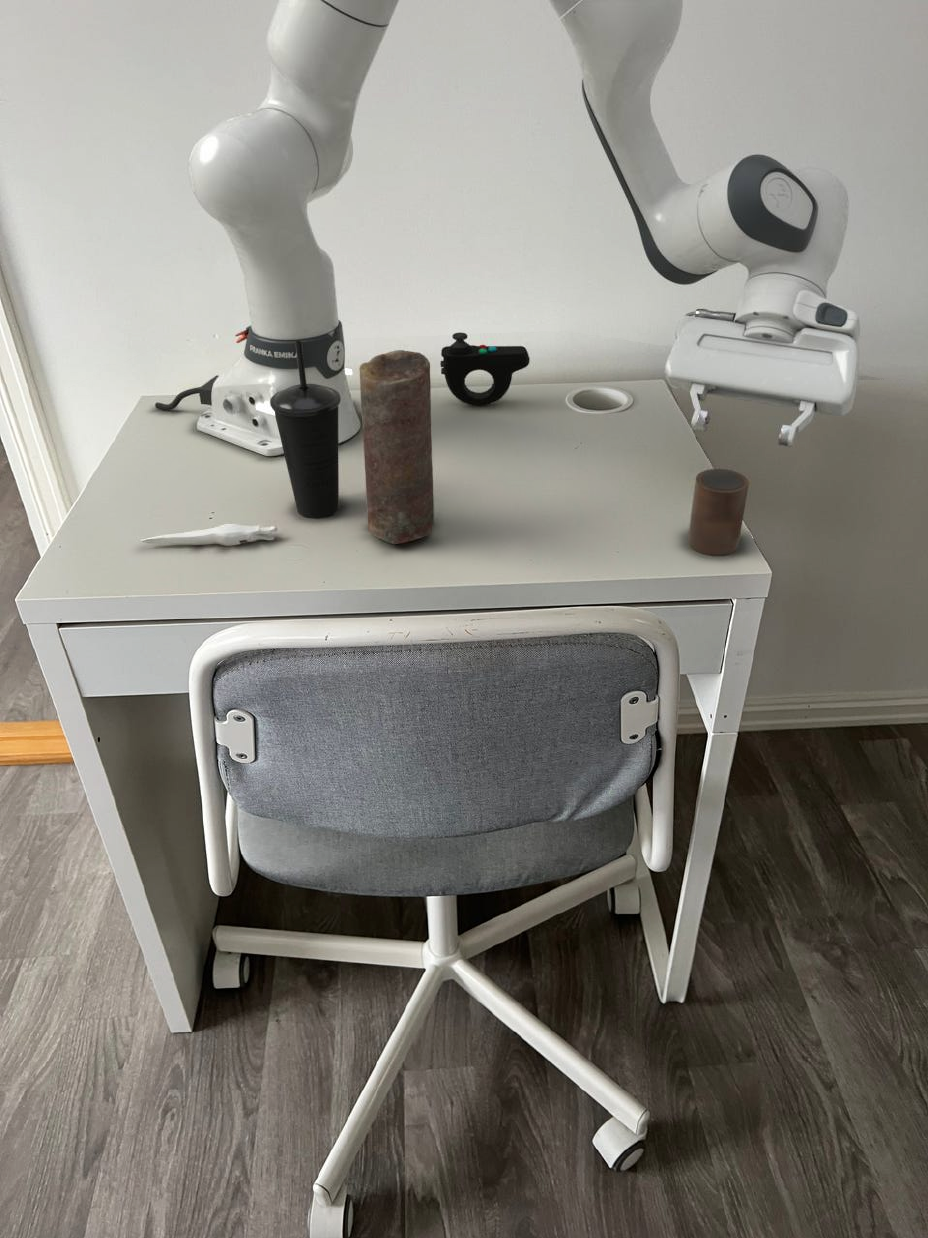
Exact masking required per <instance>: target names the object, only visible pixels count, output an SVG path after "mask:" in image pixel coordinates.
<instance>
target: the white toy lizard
mask: <svg viewBox="0 0 928 1238" xmlns="http://www.w3.org/2000/svg"><path fill="white" fill-rule="evenodd" d="M277 530H278V527H277V526H276V525H273V526H272V525H271V526H262V525H244V524H239V523H225V524H220V525H217V526H215V527H209V528H205V529H197V530H191V531H184V532H177V533H170V534H169V533H168V534H163V535H156V536H152V537H146V538H143V539H141V540H139V542H141V543H144V544H152V545H191V546H192V545H193V546H200V545H201V546H202V545H212V544H218V545H221V546H226V547H232V546H237V545H241V544H245V543H250V542H256V541H259V540H265V541H274V540H275V537H273V536H272V535H269V534H272V533H275V532H277Z"/></svg>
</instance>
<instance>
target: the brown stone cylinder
mask: <svg viewBox="0 0 928 1238" xmlns="http://www.w3.org/2000/svg"><path fill="white" fill-rule="evenodd" d="M358 369H359V387H360V406H361V420H362V421H361V422H362V423H361V424H362V440H363V455H364V471H365V476H364V477H365V495H366V497H365V498H366V513H367V515H366V517H367V529H368V532H369V534H370V535H372V536H375V537H376V538H378V539H380V540H382V541H384V542H387V543H389V544H390V545H397V544H405V543H408V542H410V541H415V540H419V539H422V538H425V537H426V536H427V537H428V535H429V534H431V532H432V531H433V528H434V526H435V503H434V502H435V499H434V497H435V496H434V476H433V475H434V473H433V472H434V471H433V470H434V468H433V443H432V441H433V440H432V439H433V438H432V399H431V398H432V397H431V394H432V393H431V392H432V391H431V389H432V387H431V386H432V385H431V363H430V360H429V359H428V357H426V355H424V354H422V353H421V352H418V351H411V350H404V349H398V350H391V351H388V352H386V353H380V354H378V355H376V356H373V357H372V358H371V359H370V360H369V361H368V362H367V361H366V362H363V363H361V365H359V368H358Z"/></svg>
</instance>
